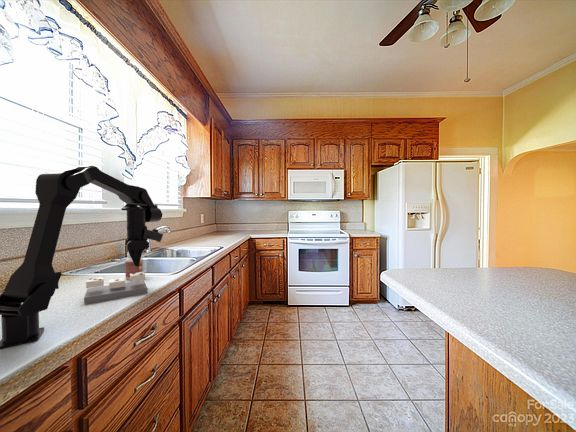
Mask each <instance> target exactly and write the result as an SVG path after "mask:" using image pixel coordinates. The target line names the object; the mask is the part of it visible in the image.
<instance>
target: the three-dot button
mask: <svg viewBox="0 0 576 432" xmlns="http://www.w3.org/2000/svg"><path fill="white" fill-rule="evenodd" d="M85 282H86V283H85V285H86V286H85V288H86V289H87V288H94V287H101V286H105V285H104V284H105V278H104V276H102V277H93V278H92V277H91V278H86V281H85Z"/></svg>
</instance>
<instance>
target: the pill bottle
mask: <svg viewBox="0 0 576 432" xmlns="http://www.w3.org/2000/svg"><path fill="white" fill-rule="evenodd" d="M126 254H127V258H126V259H125V261H124V265H125V270H124V271H125V280H130V273H138V272H143V258H142V257H141V259H140V263H139V266H135V265H134V263H133V260H132V258H131V256H130V254H129V252H127V253H126Z"/></svg>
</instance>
